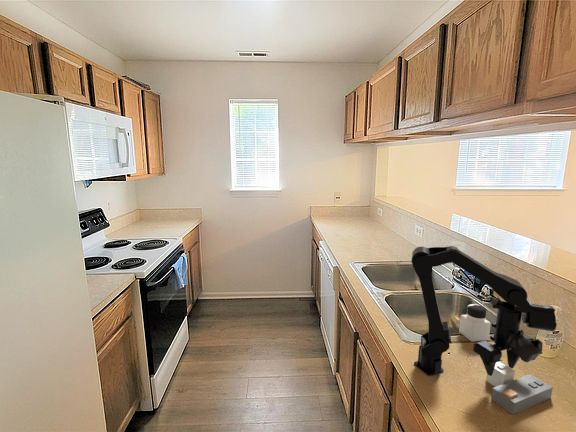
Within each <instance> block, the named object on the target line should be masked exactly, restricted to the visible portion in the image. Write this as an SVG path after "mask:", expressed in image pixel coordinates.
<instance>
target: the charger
mask: <svg viewBox="0 0 576 432" xmlns="http://www.w3.org/2000/svg"><path fill="white" fill-rule="evenodd" d="M515 373H516V370H514V368H510V367H509V365H506V364H504V363H503V362H501V361H499V362H496V364H495V368H494V371H493V374H492V376H490V375H488V374H487V373H486V376H485V381H486V382H487V383H489V384H490V385H492V386H493V387H497V386H500V385H502V384H505V383H508V382H510V381H513V380H515V379H514V378H515V375H516V374H515Z"/></svg>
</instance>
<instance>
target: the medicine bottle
mask: <svg viewBox="0 0 576 432" xmlns="http://www.w3.org/2000/svg"><path fill="white" fill-rule="evenodd" d="M486 315H487V309H486V307H485V306H482V305H480V304H478V303H471V304H468V305H467V309H466V314H461V315H460V321H459V329H458V332H459V333H460V334H461V335H463V337H465V338H467V340H469V341H470V342H471V343H472V342H481V341H489V340H490V333H491V332H490V331H491V327H492V322H490V321H489V320H488V319H486V318H487V317H486Z"/></svg>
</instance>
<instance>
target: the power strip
mask: <svg viewBox="0 0 576 432" xmlns="http://www.w3.org/2000/svg"><path fill="white" fill-rule="evenodd" d="M552 393H553V386H551V385H550V384H549V383H546V382H544V381H543V380H541V379H540V378H538V377H536V376H534V375H533V374H531V373H530V374H527V375H524V376H521V377H518V378H516V379H514V380H513V381H510V382H508V383H505V384H502V385H500V386H497V387H495V386H493V387H492V393H491V400H492V401H493V402H495V403H496V404H497V405H498V406H500V407H501V408H503V409H504V410H506V411H507V412H508V413H510V414H511V415H515V414H517V413H520V412H523V411H525V410H527V409H529V408H531V407H533V406H536V405H538V404H541V403H543V402H545V401H547V400H550V399H551V398H552Z"/></svg>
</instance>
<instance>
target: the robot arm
mask: <svg viewBox="0 0 576 432" xmlns="http://www.w3.org/2000/svg"><path fill="white" fill-rule="evenodd" d="M451 263H452V264H454V265H456V267H458V268H460V269H462V270H463V271H464V272H465V271H466V272H467V273H468V274H470V275H472V276H473V277H475V279H478V280H480V281H481V282H482V283H484V284H486V285H487V286H489V287H490V288H491V289H492V290H493V291H494V292H495V293H496V294H497V295H498V296H499V297H497V298H495V299H492V300H491V301H490V305H491V307H492V308H493V309H497V312H496V319H495V322H491V327H493V328H494V331H493V332H494V333H493V334H491V335H489V340H490V341H493V343H494V344H492V343H491V342H489V341H488V340H485V341H477V342H475V343H473V347H472V351H473V353H476V354H477V355H479V357H480V359H481V361H482V364H483V366H484V368H485V371H486V375H487V374H488V375H490V376H492V374H493V371H494V368H495V364H496V362H499V361H500V362H501V361H502V360H501V358H502V357H503V356H502V355H503V352H505V351H506V357H507V366H508V367H509V368H511V369H514V368H515V366H516V364H517V363H518V361H519V360H520V359H521V361H523V362H524V363H529V362H532V361H534V360H537V358H538V356H539V355H542V354H543V345H544V343H543V341H541V340H540V338H536V339H534V338H533V337H531V336H528V335H527V334H525V332H524V329H523V328H521V321H522V322H523V324H526V327H527V328H529V329H537V330H542V331H548V332H551V333H552V332H553V333H554V332H555V331H556V329H557V320H556V319H557V318H556V314H555V312H556V309H555V308H554V307H553V305H549V304H547V305H546V304H545V305H543V304H537V303H531V301H530V300H529V299H528V292H527V290H526V289H525V287H524V286H523V285H522V284H521V282H519V280H517V279H515V278H513V277H510V276H509V275H506V274H504V273H503V274H502V273H499V272H497V271H494V270H493V269H491V268H489V267H487V266H486V265H484V264H483V263H481V262H479V261H477V260H476V259H474V258H473V257H471V256H469V255H468V254H467V253H465V252H463V251H462V250H460V249H458V247H456V246H454V245H450V246H432V247H425V246H417V247H416V248H414V249H413V251H412V254H411V265H412V267H413V270H414V272H415V275H416V276H417V278H418V280H419V282H420V283H419V284H420V289H421V292H422V293H421V294H422V298H423V302H424V303H423V304H424V306H425V311H426V316H427V320H428V323H427V324H428V325H427V327H428V329H427V330H428V331H427V332H425V333H423V334H421V336H420V345H419V347H418V355H417V361H414V362H413V365H414V366H416V367H417V368H418V369H419V370H420V371H422V372H423V373H424V374H425V375H427V376H432V375H436V374H438V373H441V372H444V371H445V370H444V368H443V367H442V365H443V364H442V363H443V360H442V357H443V356H442V355H443V353H446V352H447V351H448V350H450V344H452V338H451V337H452V335H451V331H450V330H449V329H450V328H449V323H448V321H443V319H442V317H441V313H440V307H439V304H438V299H437V294H436V289H435V283H434V278H433V267H434V268H435V267H440V266H442V265H446V264H451ZM500 298H501V299H502V300H501V299H500Z"/></svg>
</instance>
